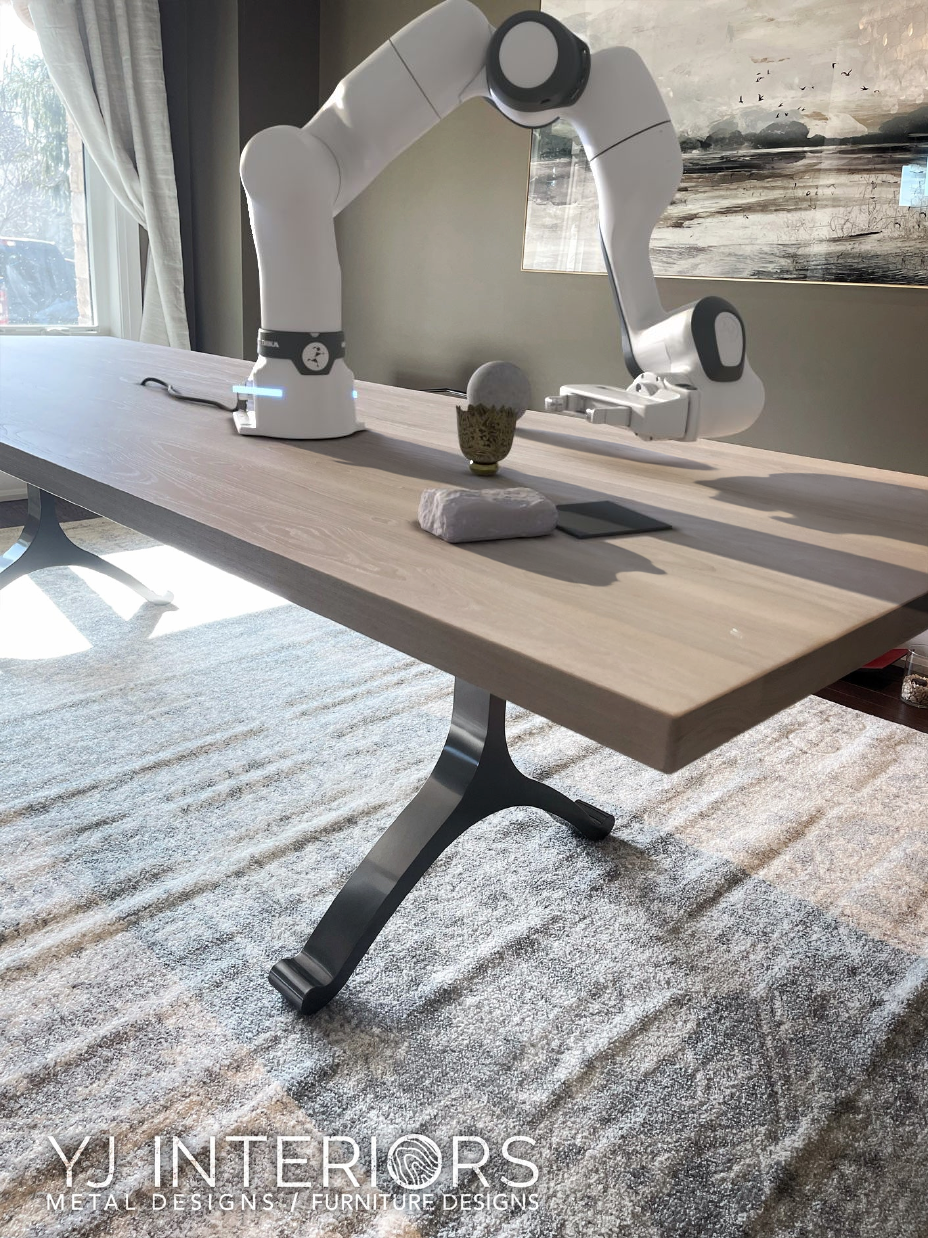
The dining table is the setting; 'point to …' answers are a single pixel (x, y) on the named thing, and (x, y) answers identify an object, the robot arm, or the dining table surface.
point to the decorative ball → (500, 387)
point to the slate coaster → (603, 520)
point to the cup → (485, 436)
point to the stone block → (486, 514)
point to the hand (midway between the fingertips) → (568, 409)
